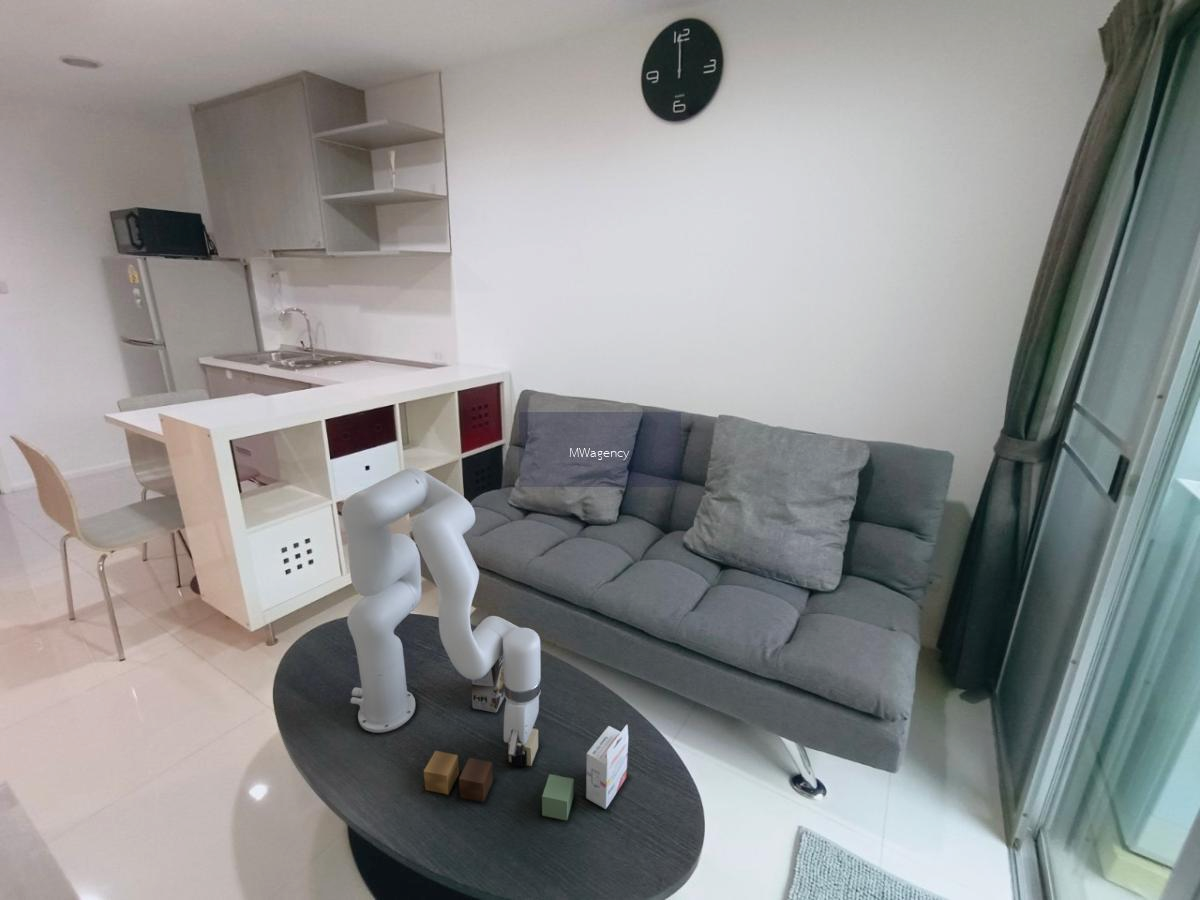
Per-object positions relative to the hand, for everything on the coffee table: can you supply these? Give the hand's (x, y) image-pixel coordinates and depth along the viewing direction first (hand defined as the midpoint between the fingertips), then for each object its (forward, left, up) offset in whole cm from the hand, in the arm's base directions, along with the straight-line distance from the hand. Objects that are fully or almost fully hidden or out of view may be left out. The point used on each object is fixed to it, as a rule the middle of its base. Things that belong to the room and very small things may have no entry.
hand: (523, 752), depth 119 cm
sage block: (+10, -10, 0) cm, 15 cm away
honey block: (-14, -10, 0) cm, 17 cm away
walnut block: (-7, -10, 0) cm, 12 cm away
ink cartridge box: (+19, -4, -1) cm, 19 cm away
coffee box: (-13, +14, -1) cm, 19 cm away
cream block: (0, 0, 0) cm, 0 cm away
